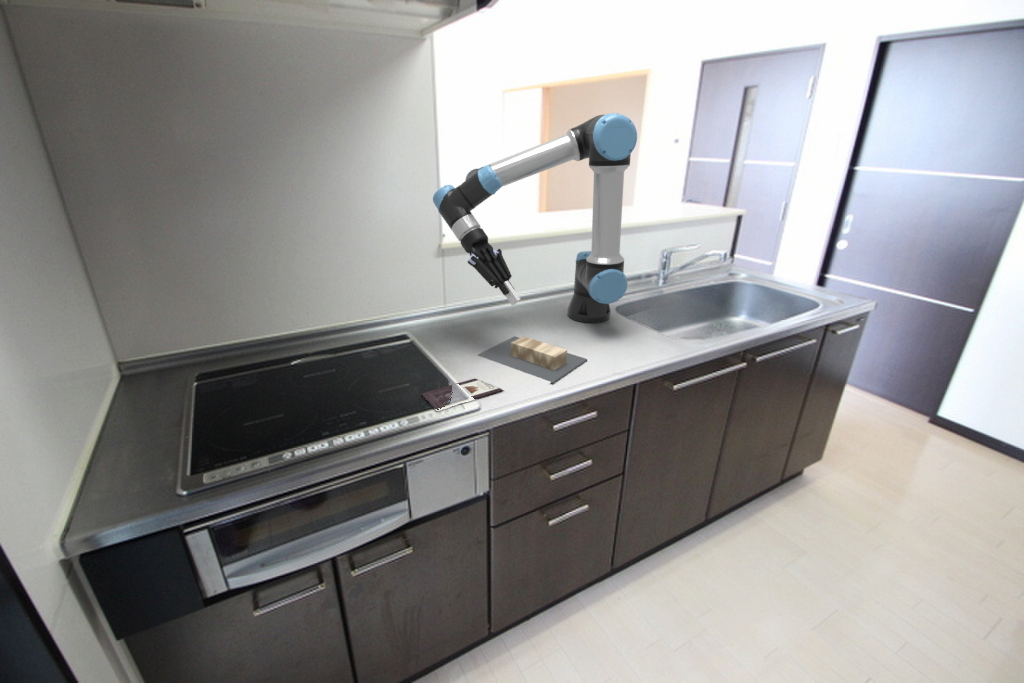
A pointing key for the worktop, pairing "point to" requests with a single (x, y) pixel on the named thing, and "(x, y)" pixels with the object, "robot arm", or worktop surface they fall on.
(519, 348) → the wooden block
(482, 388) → the chocolate bar
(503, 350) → the rubber mat
